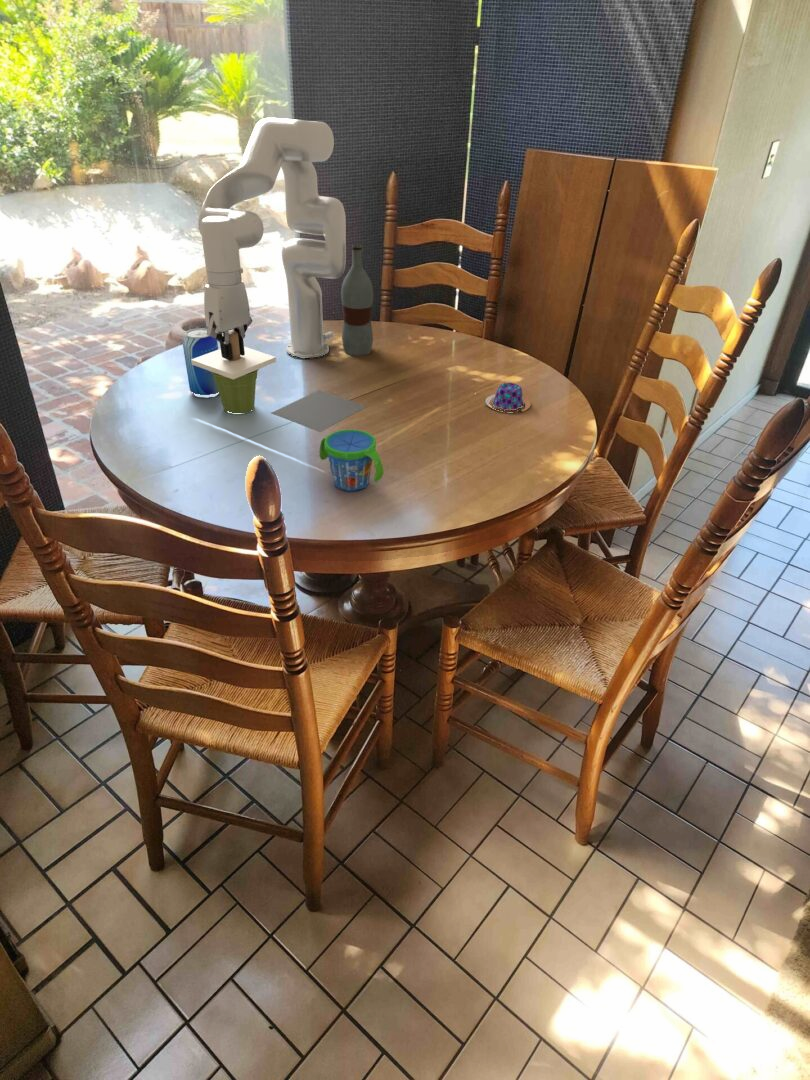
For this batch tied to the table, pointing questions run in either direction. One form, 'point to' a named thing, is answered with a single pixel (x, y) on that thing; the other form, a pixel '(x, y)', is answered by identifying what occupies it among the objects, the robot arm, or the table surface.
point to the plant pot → (237, 392)
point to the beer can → (194, 347)
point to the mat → (319, 410)
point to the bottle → (357, 308)
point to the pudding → (507, 396)
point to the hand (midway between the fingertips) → (233, 355)
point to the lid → (234, 360)
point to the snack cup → (351, 458)
